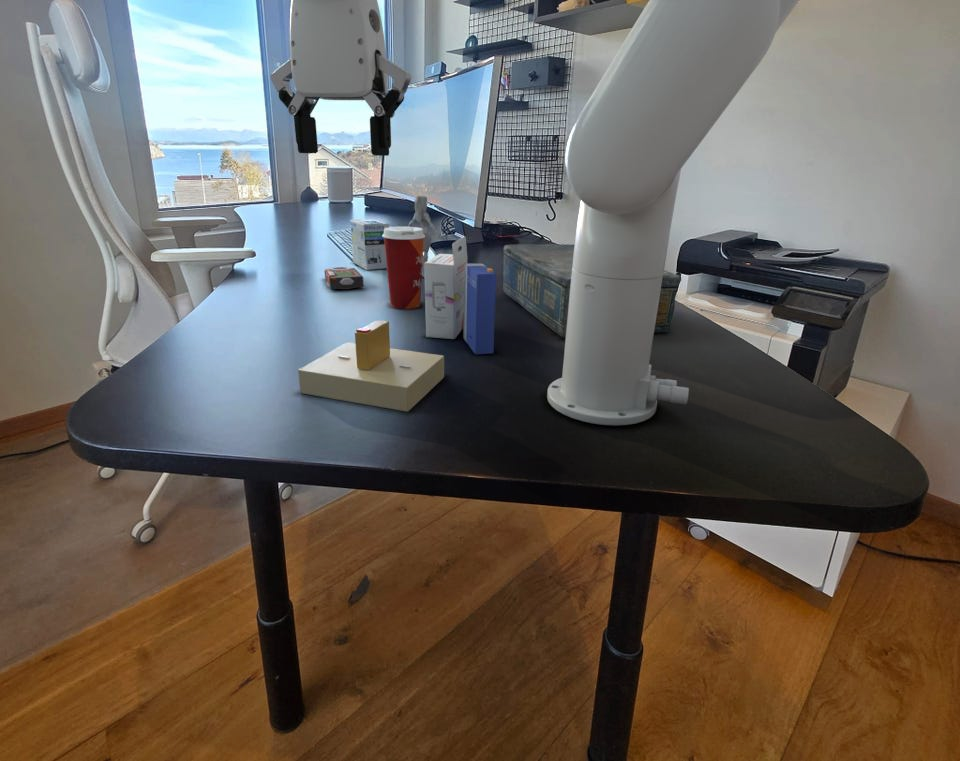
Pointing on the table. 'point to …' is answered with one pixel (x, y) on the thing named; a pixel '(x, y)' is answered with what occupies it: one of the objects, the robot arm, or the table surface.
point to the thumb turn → (372, 344)
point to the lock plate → (373, 378)
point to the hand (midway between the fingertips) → (343, 154)
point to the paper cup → (404, 265)
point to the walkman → (479, 307)
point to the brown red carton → (343, 278)
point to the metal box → (561, 284)
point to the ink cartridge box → (445, 292)
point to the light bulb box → (368, 243)
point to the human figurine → (423, 224)
